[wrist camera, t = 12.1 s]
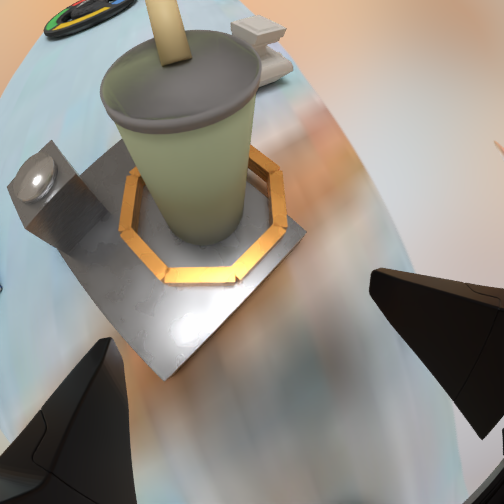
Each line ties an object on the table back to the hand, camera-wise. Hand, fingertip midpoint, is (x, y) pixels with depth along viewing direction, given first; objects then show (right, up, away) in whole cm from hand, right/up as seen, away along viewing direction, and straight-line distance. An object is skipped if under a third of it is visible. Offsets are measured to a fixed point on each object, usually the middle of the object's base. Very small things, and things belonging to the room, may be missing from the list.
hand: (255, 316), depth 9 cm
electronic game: (-36, +55, +28) cm, 72 cm away
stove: (-8, +4, +14) cm, 17 cm away
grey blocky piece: (0, +23, +21) cm, 31 cm away
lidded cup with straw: (-4, +5, +12) cm, 14 cm away
